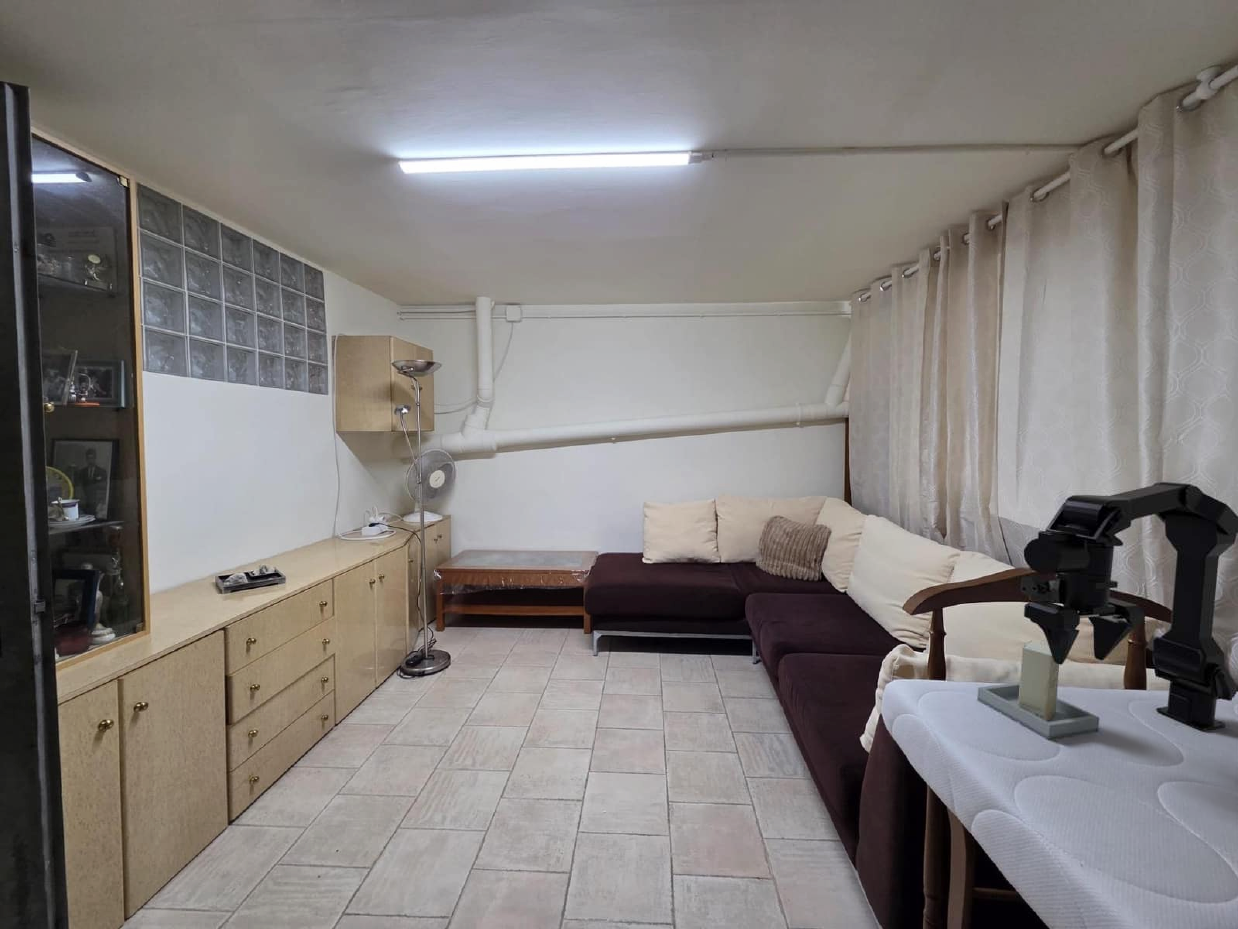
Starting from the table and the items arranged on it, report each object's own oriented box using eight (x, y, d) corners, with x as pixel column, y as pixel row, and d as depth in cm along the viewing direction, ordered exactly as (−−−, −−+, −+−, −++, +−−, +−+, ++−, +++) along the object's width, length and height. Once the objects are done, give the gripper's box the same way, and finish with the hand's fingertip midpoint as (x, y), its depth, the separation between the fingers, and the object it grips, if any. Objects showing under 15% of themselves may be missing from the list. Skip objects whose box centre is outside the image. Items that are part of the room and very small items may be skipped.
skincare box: (1047, 723, 87) (1053, 656, 86) (1015, 711, 91) (1021, 647, 90) (1056, 712, 91) (1062, 648, 90) (1025, 701, 94) (1031, 639, 94)
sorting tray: (1023, 694, 98) (1024, 681, 98) (1098, 731, 86) (1099, 717, 86) (977, 700, 96) (978, 687, 95) (1048, 739, 83) (1049, 725, 83)
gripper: (1075, 557, 93) (1067, 638, 94) (996, 560, 89) (989, 645, 90) (1150, 574, 82) (1141, 665, 83) (1065, 578, 78) (1056, 674, 79)
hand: (1078, 661), depth 84 cm, fingers open, 9 cm apart
